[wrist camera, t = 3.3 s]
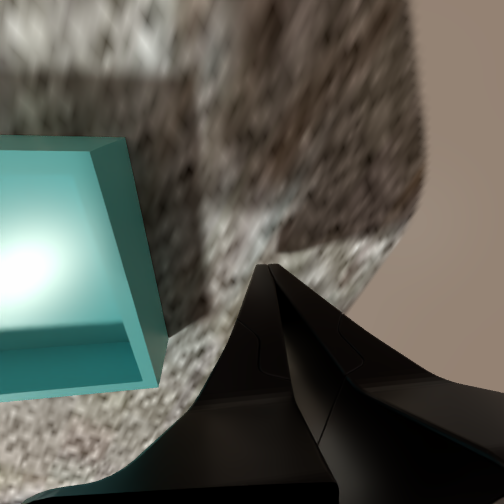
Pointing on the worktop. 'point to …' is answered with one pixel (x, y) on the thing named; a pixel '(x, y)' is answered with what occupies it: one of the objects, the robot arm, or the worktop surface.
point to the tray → (74, 271)
